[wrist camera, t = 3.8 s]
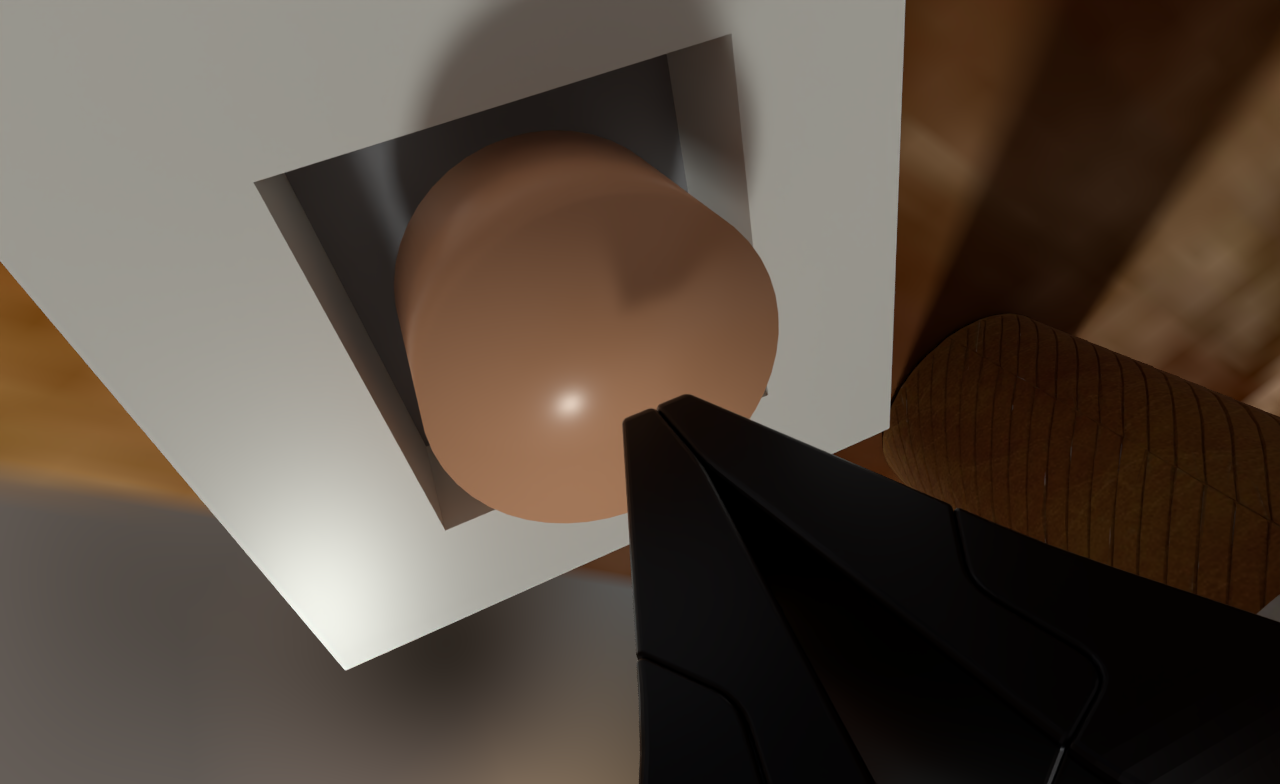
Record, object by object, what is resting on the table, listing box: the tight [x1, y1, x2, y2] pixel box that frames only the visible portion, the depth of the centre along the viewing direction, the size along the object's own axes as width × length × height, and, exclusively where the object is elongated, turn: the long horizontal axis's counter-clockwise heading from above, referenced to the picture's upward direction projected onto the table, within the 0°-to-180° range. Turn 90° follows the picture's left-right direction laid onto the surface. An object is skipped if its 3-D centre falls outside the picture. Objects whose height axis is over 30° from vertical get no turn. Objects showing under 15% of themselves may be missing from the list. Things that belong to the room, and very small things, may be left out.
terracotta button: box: [394, 130, 779, 523], centre depth 11 cm, size 5×5×3 cm
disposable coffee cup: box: [883, 313, 1280, 622], centre depth 18 cm, size 10×10×12 cm
